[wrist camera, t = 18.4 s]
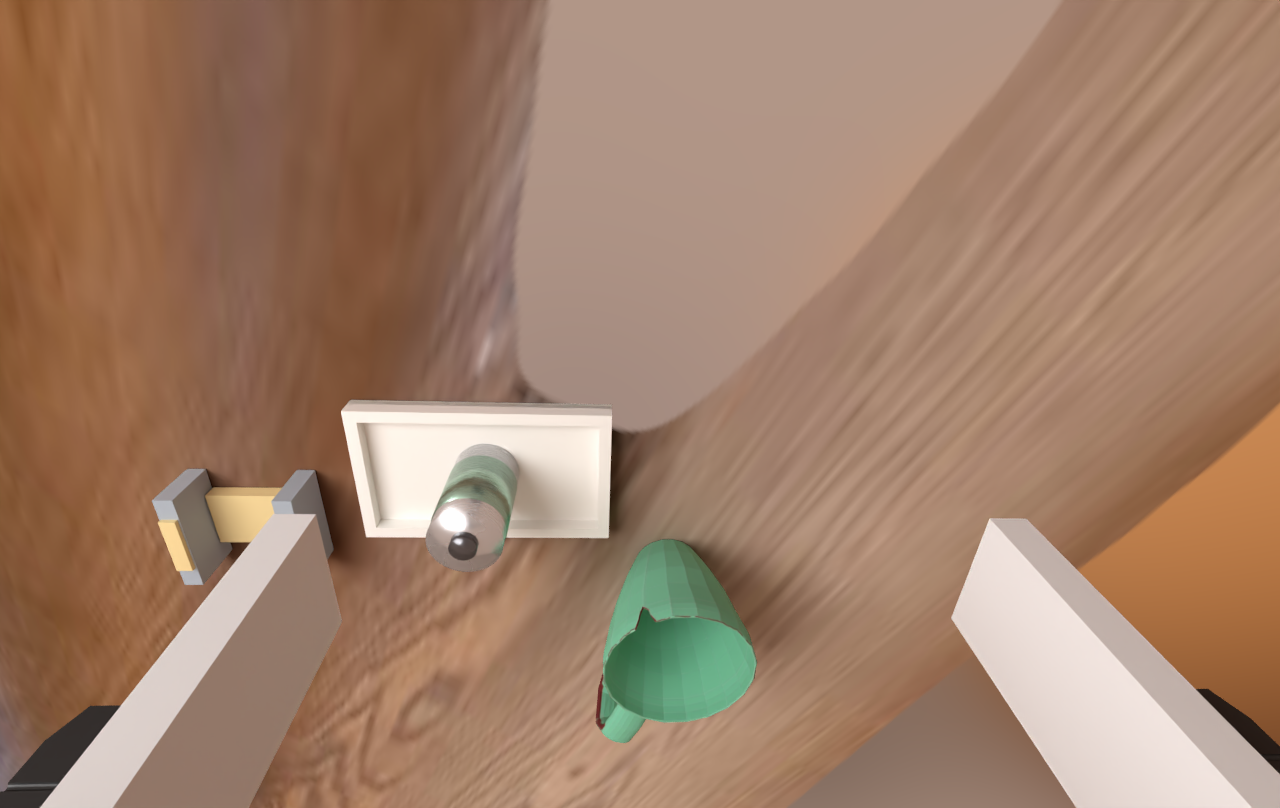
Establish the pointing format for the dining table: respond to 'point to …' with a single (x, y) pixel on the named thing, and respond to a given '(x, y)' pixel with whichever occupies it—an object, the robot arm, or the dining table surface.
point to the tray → (439, 431)
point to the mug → (671, 645)
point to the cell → (474, 509)
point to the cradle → (227, 517)
